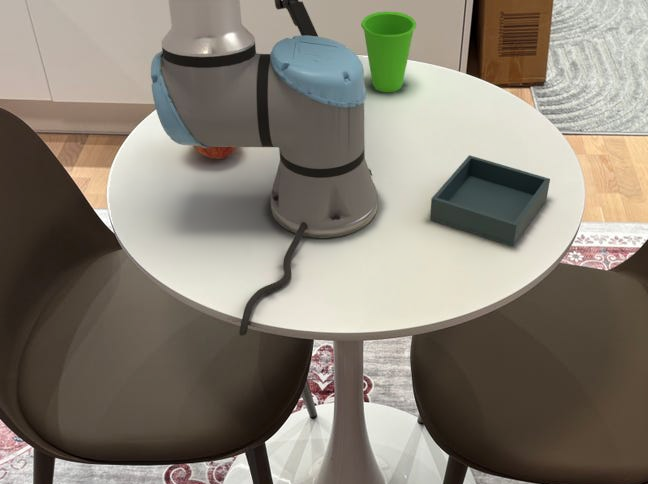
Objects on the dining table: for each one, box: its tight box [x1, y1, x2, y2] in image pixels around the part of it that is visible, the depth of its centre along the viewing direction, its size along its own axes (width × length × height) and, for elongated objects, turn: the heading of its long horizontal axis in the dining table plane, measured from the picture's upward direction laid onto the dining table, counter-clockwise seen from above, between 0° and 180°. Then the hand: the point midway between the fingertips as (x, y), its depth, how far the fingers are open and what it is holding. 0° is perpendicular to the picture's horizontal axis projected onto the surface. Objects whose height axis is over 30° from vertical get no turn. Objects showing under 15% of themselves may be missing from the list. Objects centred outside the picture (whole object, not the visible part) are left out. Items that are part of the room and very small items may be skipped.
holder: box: [429, 154, 551, 247], centre depth 120 cm, size 13×13×4 cm
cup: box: [360, 11, 417, 93], centre depth 143 cm, size 9×9×11 cm
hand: (335, 19), depth 134 cm, fingers open, 13 cm apart
